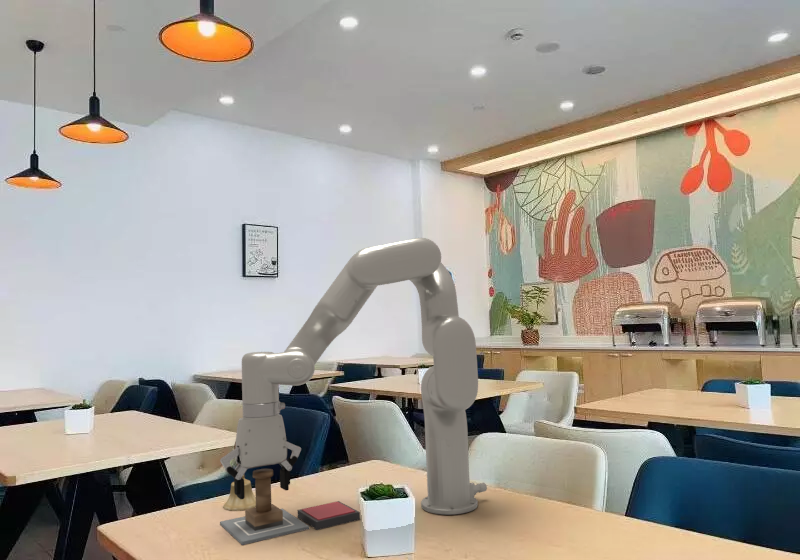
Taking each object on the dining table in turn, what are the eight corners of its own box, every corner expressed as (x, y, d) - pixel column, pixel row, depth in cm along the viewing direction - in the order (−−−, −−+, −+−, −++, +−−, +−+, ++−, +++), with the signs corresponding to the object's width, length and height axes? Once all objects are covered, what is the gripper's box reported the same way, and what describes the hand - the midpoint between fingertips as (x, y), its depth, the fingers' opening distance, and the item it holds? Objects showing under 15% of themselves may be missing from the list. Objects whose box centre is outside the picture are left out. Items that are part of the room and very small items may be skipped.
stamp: (272, 517, 130) (271, 466, 131) (282, 524, 125) (281, 471, 126) (245, 523, 127) (244, 470, 127) (254, 530, 122) (253, 476, 122)
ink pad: (338, 508, 136) (338, 500, 136) (359, 519, 128) (359, 511, 128) (297, 517, 131) (297, 509, 131) (316, 530, 122) (316, 521, 123)
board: (282, 511, 136) (282, 508, 136) (309, 529, 123) (309, 525, 123) (220, 524, 128) (219, 521, 128) (242, 545, 116) (241, 541, 116)
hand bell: (238, 513, 136) (236, 441, 137) (215, 507, 141) (214, 438, 142) (267, 503, 142) (265, 435, 143) (244, 498, 147) (243, 432, 148)
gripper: (292, 404, 135) (294, 482, 134) (214, 413, 126) (216, 497, 125) (306, 407, 129) (308, 489, 128) (225, 417, 120) (226, 505, 118)
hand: (262, 493), depth 126 cm, fingers open, 9 cm apart
